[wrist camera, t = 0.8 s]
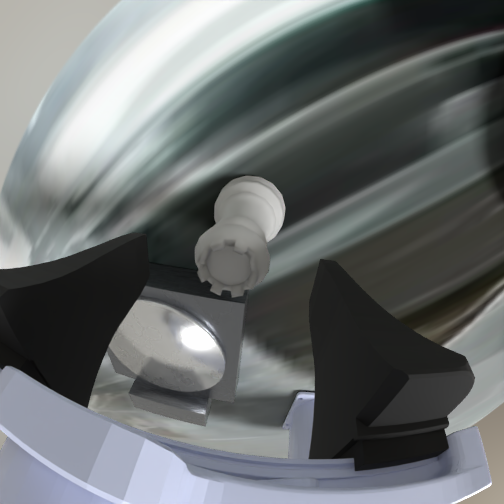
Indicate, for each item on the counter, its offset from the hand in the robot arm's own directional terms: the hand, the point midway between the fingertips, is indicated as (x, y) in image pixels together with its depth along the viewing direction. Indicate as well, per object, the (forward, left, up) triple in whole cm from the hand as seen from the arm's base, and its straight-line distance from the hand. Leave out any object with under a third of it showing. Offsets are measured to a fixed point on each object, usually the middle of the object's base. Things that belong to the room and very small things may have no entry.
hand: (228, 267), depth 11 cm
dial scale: (-14, +6, -8) cm, 17 cm away
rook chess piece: (0, 0, -8) cm, 8 cm away
